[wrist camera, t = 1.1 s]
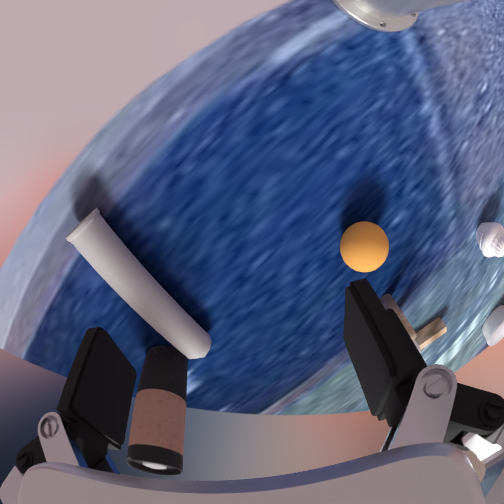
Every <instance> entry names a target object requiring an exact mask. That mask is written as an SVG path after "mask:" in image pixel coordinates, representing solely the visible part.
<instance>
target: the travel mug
mask: <svg viewBox="0 0 504 504" xmlns="http://www.w3.org/2000/svg"><path fill="white" fill-rule="evenodd" d="M187 367H188V361H187V357H186V356H185V355H184V354H183V353H181V352H180V351H179V350H178V349H176V348H174V347H170V346H163V345H161V346H155V347H152V348H151V349H149V351H148V352H147V355H146V358H145V362H144V366H143V370H142V374H141V378H140V382H139V386H138V390H137V395H136V400H135V406H134V412H133V418H132V425H131V431H130V438H129V446H128V454H127V464H128V465H130V466H132V467H133V468H136V469H138V470H141V471H145V472H148V473H153V474H159V475H178V474H181V473H182V470H183V448H184V447H183V445H184V429H185V414H186V393H187Z"/></svg>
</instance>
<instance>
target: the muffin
mask: <svg viewBox="0 0 504 504" xmlns="http://www.w3.org/2000/svg"><path fill="white" fill-rule="evenodd" d="M476 239H477V242H478V244H479V247H480V250H481V251H482V253H483V254H484V255H485V256H486V257H493V256H497V257H502V256H503V255H504V228H503V226H502V225H501V224H499V223H494V222H484V223H481V224H480V225H479V226H478V228H477V230H476Z"/></svg>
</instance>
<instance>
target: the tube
mask: <svg viewBox="0 0 504 504" xmlns="http://www.w3.org/2000/svg"><path fill="white" fill-rule="evenodd" d="M66 239H67V240H68V242H72V243H73V245H74V246H75V247H76V248H77V249H78V251H79V252H80V253H81V254H82V255H83V256H84V258H85V259H86V260H87V261H88V262H89V263H90V264H91V265H92V267H93V268H94V269H95V270H96V271H97V272H98V273H99V274H100V275H101V276H102V278H103V279H104V280H105V281H106V282H107V283H108V284H109V285H110V286H111V287H112V288H113V289H114V290H115V291H116V292H117V293H118V294H119V295H120V296H121V297H122V298H123V299H124V300H125V301H126V302H127V303H128V304H129V305H130V306H131V307H132V308H133V309H134V310H135V311H136V312H137V313H138V314H139V315H140V316H141V317H142V318H143V319H144V320H145V321H146V322H147V323H149V324H150V325H151V326H152V327H153V328H154V329H155V330H156V331H157V332H158V333H160V334H161V335H162V336H163V337H164V338H165V339H166V340H167V341H169V342H170V343H171V344H172V345H173V346H174V347H176V348H177V349H178V350H179V351H180V352H181V353H183V354H184V355H185V356H186V357H187V358H189V359H197V358H202V357H205V356H206V354H207V352H208V351H209V349H210V346H211V339H210V336H209V334H208V333H207V332H206V331H205V330H203V329H202V328H201V327H200V326H199V325H198V324H197V323H196V322H195V321H194V320H193V319H192V318H191V317H190V316H189V315H188V314H187V313H186V312H185V311H184V310H183V309H182V308H181V306H180V305H179V304H178V303H177V302H176V301H175V300H174V299H173V298H172V297H171V296H170V295H169V294H168V293H167V292H166V291H165V290H164V289H163V288H162V286H161V285H160V284H159V283H158V282H157V281H156V280H155V279H154V278H153V277H152V276H151V274H150V273H149V272H148V271H147V270H146V269H145V268H144V267H143V266H142V264H141V263H140V262H139V261H138V260H137V259H136V258H135V256H134V255H133V254H132V253H131V252H130V251H129V249H128V248H127V247H126V246H125V245H124V243H123V242H122V241H121V240H120V239H119V237H118V236H117V235H116V234H115V233H114V231H113V230H112V229H111V228H110V226H109V225H108V224H107V223H106V221H105V220H104V219H103V218H102V216H101V215H100V211H99V209H98V208H96V209H95V210H93V211H92V212H91V213H90V214H89V215H88V216H87V217H86V218H84V219H83V220H82V221H81V222H80V223H79V224H78V225H77V226H76V227H75V228H74V229H73V230H72V231H71V232H70V233H69V234H68V236H67V237H66Z"/></svg>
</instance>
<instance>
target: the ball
mask: <svg viewBox="0 0 504 504" xmlns="http://www.w3.org/2000/svg"><path fill="white" fill-rule="evenodd" d="M388 250H389V243H388V239H387V236H386V234H385V232H384V231H383V230H382V229H381V228H380V227H379V226H378V225H376V224H374V223H371V222H367V221H362V222H357V223H355V224H353V225H351V226H350V227H349V228H347V230H346V231H345V232H344V234H343V236H342V238H341V242H340V251H341V255H342V258H343V260H344V261H345V263H346V264H347V265H348V266H349V267H351V268H352V269H354V270H356V271H360V272H369V271H373V270H375V269H377V268H378V267H380V266H381V265H382V264H383V262H384V261H385V259H386V257H387V255H388Z"/></svg>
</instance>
